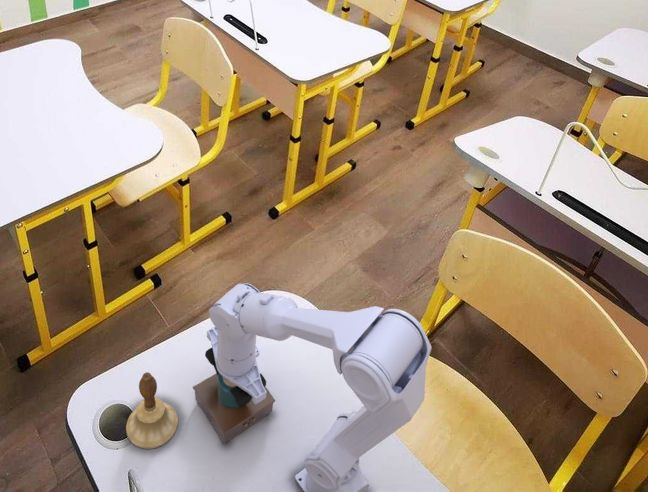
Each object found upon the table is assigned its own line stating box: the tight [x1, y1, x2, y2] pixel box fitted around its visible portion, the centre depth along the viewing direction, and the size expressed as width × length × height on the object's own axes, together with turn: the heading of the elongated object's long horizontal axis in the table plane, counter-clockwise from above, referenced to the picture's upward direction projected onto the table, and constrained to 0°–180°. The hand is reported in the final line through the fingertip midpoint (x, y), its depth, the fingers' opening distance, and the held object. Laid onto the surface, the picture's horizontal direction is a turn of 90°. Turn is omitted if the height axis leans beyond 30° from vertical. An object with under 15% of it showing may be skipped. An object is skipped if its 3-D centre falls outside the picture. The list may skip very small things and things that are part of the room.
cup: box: [218, 373, 239, 408], centre depth 97 cm, size 5×7×6 cm
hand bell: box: [125, 372, 179, 450], centre depth 92 cm, size 8×8×16 cm
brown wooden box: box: [192, 372, 276, 444], centre depth 100 cm, size 10×10×5 cm
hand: (234, 389), depth 98 cm, fingers closed on cup, 5 cm apart
